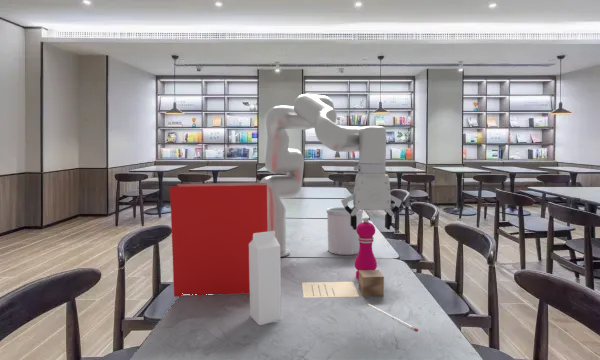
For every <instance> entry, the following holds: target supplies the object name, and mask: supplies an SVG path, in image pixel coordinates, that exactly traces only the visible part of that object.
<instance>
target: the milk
mask: <svg viewBox="0 0 600 360" xmlns="http://www.w3.org/2000/svg"><path fill="white" fill-rule="evenodd" d="M281 271H282V270H281V257H280V244H279V243H278V241H277V239H276V237H275V231H269V232H261V233H254V234H253V240H252V241H251V242H250V243H249V281H250V293H249V317H251V318H252V320H254V322H255V323H256V324H257V325H258V326H264V325H267V324H271V323H274V322H275V323H276V322H277V321H281V320H282V287H281V286H282V281H281V280H282V279H281V278H282V277H281V275H282V273H281Z"/></svg>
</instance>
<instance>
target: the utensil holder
mask: <svg viewBox="0 0 600 360" xmlns="http://www.w3.org/2000/svg"><path fill="white" fill-rule="evenodd" d="M353 207H354V206H349V208H350V209H352V208H353ZM326 213H327V218H326V219H327V249H328V252H330V253H332V254H334V255H342V256H343V255H344V256H345V255H346V256H348V255H351V256H352V255H358V252H359V247H360V244H359V241H358V237H359V235H358V234H357V229H356V230H354V229H353V228H352V226H351V225H350V220H351V215H350V214H349V213H348V212H347V211H346V210H345V208H344V206H332V207H328V208H326ZM363 214H364V210H359V211H358V212H357V213H356V216H357V226H358V225H359V224H360V223H362V222H363Z"/></svg>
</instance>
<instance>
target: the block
mask: <svg viewBox="0 0 600 360" xmlns="http://www.w3.org/2000/svg"><path fill="white" fill-rule="evenodd" d="M384 285H385V277H384V275H383V274H382V272H381V271H380V270H379V269H375V270H359V279H358V290H359V292H360V295H361V296H362V297H368V298H369V297H384V293H385V286H384Z"/></svg>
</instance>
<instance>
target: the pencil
mask: <svg viewBox="0 0 600 360" xmlns="http://www.w3.org/2000/svg"><path fill="white" fill-rule="evenodd" d="M365 304H366V305H367V306H369V307H371V308H373V309H375V310H377V311H379V312H381V313H383V314H385V315H387V316H388V317H390V318H392V320H394V321H396V322H398V323H399V324H401V325H403V326H405V327H407V328H409V329H411V330H413V331H414V332H418V331H419V329H418V328H416V327H414V326H412V325H411V324H409V323H407V322H405V321H403V320H402V319H399V318H397V317H396V316H395V315H394V316H393V315H392V314H389V313H388V312H386V311H384V310H382V309H380V308H378V307H376V306H374V305H372V304H370V303H368V302H365Z"/></svg>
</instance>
